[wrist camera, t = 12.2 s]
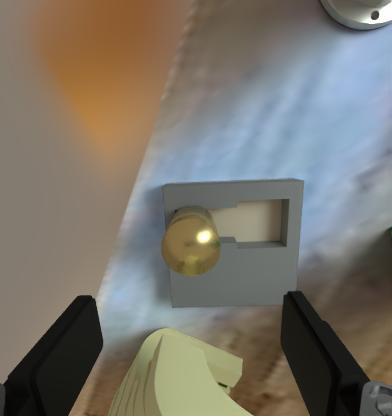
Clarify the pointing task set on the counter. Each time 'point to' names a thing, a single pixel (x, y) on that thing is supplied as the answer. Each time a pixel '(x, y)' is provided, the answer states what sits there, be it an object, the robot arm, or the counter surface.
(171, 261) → the peg
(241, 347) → the counter surface
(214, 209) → the board
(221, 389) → the slatted curved stool
